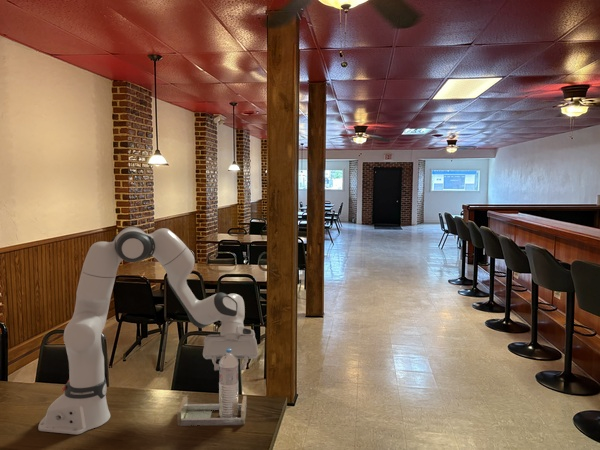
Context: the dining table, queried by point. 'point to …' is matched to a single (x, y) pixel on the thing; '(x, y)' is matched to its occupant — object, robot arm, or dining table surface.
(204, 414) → the wooden rack frame
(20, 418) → the dining table surface
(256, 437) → the dining table surface
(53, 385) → the dining table surface
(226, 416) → the water bottle
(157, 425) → the dining table surface
